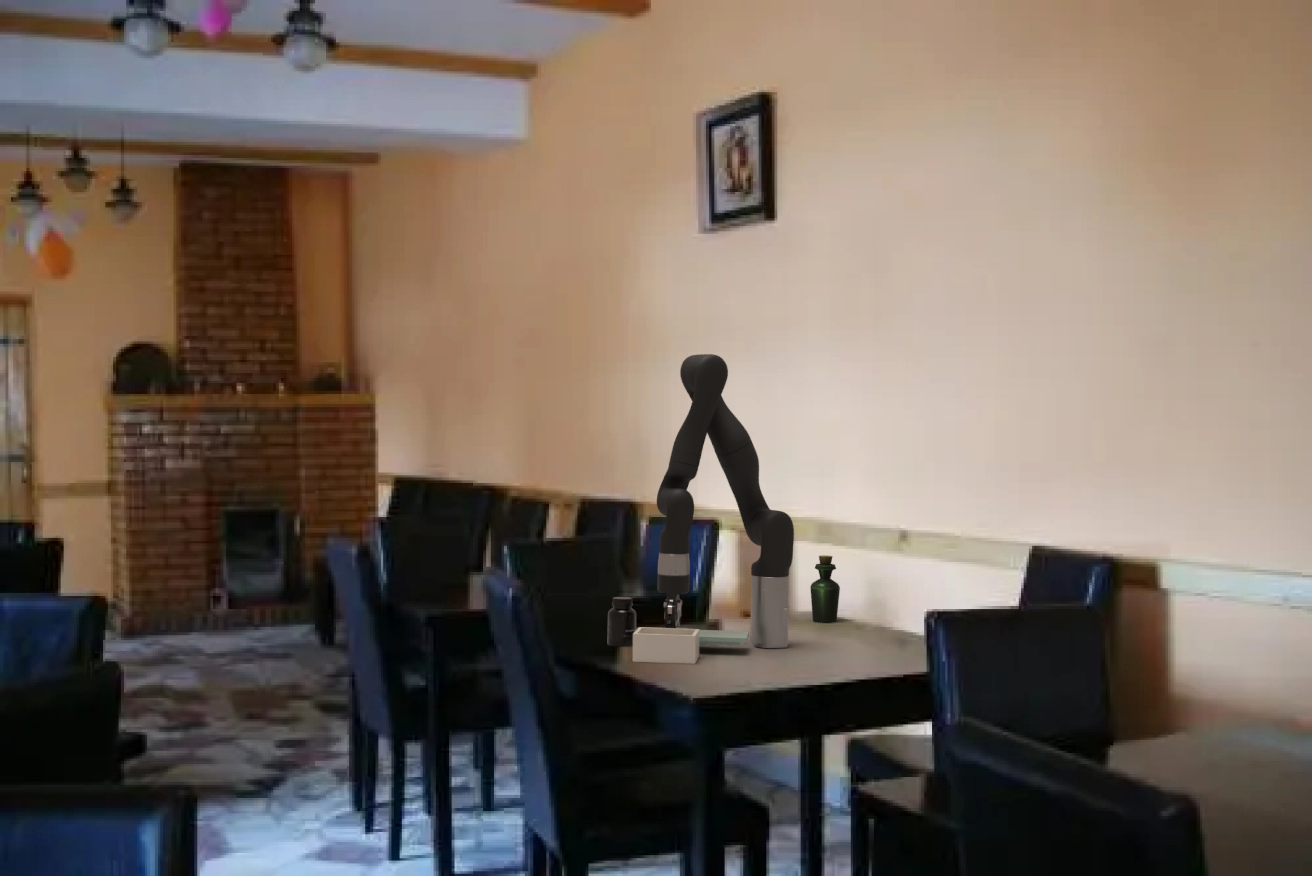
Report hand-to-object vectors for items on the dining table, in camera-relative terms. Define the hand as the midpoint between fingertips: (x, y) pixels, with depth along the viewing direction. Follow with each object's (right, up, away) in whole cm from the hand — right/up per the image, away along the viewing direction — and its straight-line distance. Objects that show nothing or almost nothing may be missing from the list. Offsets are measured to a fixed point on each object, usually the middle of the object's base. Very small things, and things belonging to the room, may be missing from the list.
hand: (672, 644), depth 326 cm
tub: (-1, -2, -13) cm, 13 cm away
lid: (+8, +1, -1) cm, 8 cm away
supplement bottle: (-12, -2, +7) cm, 14 cm away
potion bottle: (+43, -2, +55) cm, 69 cm away
